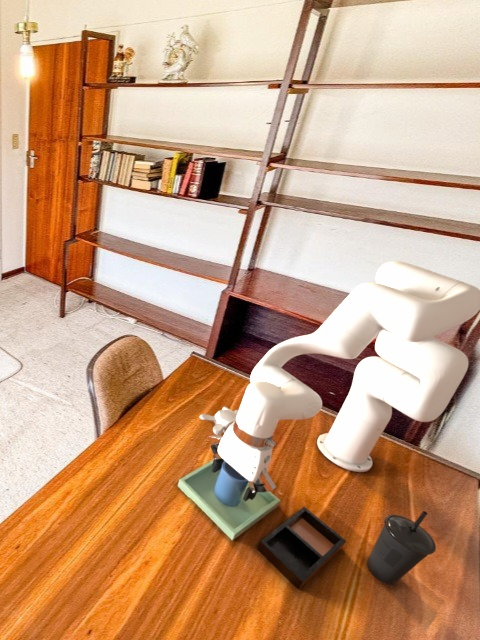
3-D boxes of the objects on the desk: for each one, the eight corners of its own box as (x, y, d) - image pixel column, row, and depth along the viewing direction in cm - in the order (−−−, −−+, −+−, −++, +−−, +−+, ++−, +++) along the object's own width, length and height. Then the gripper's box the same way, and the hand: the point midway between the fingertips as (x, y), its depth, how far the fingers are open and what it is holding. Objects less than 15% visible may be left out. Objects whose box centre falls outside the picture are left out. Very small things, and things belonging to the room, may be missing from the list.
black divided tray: (299, 515, 95) (304, 506, 94) (340, 549, 88) (346, 540, 87) (255, 550, 87) (260, 541, 86) (297, 591, 80) (303, 582, 79)
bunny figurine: (261, 423, 116) (222, 430, 111) (255, 436, 118) (216, 443, 113) (237, 401, 124) (199, 406, 119) (231, 414, 126) (194, 419, 121)
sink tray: (221, 459, 109) (224, 452, 108) (277, 507, 97) (280, 500, 95) (177, 486, 101) (179, 479, 100) (231, 541, 89) (234, 534, 88)
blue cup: (223, 480, 102) (233, 455, 98) (245, 499, 97) (256, 475, 93) (208, 490, 99) (216, 465, 96) (229, 511, 95) (240, 485, 91)
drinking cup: (412, 597, 80) (464, 537, 71) (370, 588, 81) (416, 527, 72) (389, 558, 87) (433, 498, 78) (350, 550, 88) (390, 490, 79)
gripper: (300, 453, 84) (275, 506, 92) (228, 401, 98) (211, 451, 105) (280, 467, 81) (255, 521, 88) (208, 411, 94) (192, 462, 102)
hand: (231, 483), depth 97 cm, fingers open, 8 cm apart
